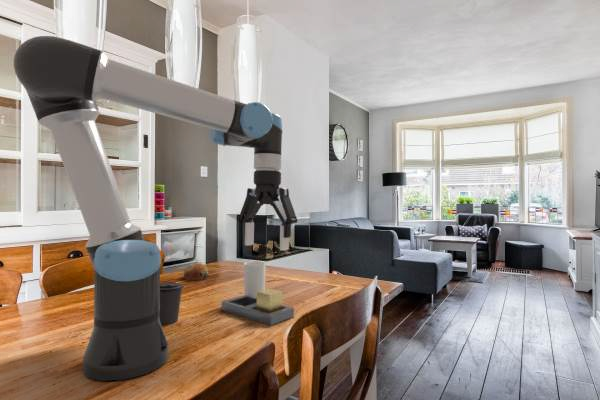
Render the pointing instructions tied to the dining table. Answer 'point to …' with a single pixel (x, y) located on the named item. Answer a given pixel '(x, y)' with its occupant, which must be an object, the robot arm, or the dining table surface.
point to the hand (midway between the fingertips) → (266, 247)
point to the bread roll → (196, 272)
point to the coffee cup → (169, 302)
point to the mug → (254, 278)
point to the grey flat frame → (251, 310)
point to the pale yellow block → (269, 300)
